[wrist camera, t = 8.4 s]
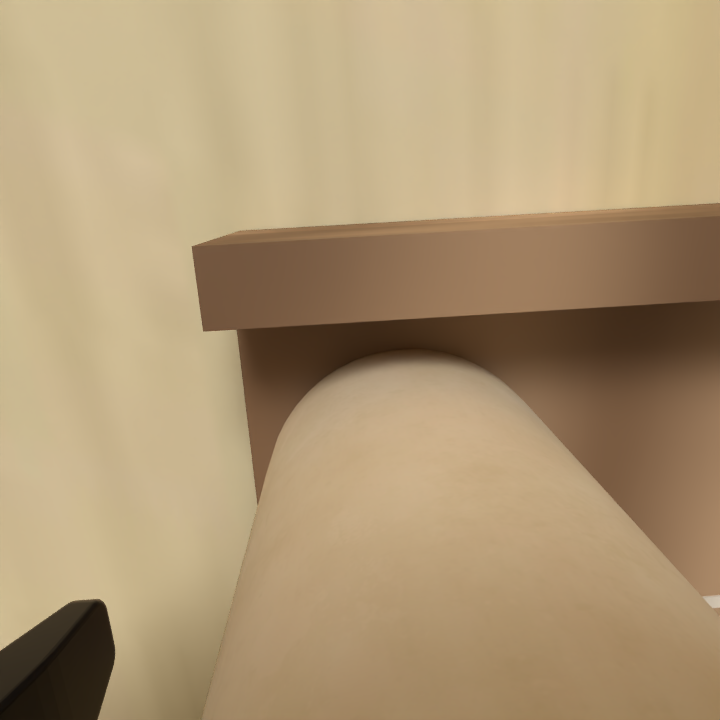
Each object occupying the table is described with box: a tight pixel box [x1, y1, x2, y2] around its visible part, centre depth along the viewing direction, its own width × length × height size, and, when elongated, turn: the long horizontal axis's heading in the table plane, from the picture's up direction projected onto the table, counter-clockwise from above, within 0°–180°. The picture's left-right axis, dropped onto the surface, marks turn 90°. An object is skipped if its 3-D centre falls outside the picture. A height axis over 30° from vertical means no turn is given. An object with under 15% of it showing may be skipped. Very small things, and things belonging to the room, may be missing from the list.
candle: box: [201, 349, 720, 720], centre depth 7 cm, size 6×6×10 cm
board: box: [192, 203, 720, 615], centre depth 11 cm, size 16×9×4 cm, turn 93°
